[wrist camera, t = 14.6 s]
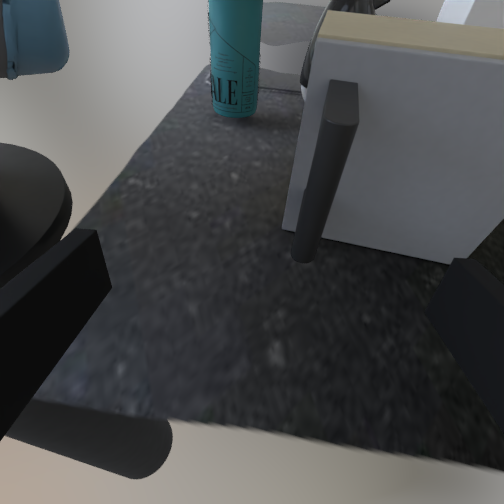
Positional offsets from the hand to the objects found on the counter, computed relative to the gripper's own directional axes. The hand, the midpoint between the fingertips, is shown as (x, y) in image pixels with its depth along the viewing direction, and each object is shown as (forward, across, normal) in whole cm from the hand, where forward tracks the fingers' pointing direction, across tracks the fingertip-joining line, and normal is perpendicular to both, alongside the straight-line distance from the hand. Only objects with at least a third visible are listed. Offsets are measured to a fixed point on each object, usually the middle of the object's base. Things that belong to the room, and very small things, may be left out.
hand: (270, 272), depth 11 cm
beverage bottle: (+36, -5, 0) cm, 36 cm away
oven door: (+10, +8, -6) cm, 14 cm away
